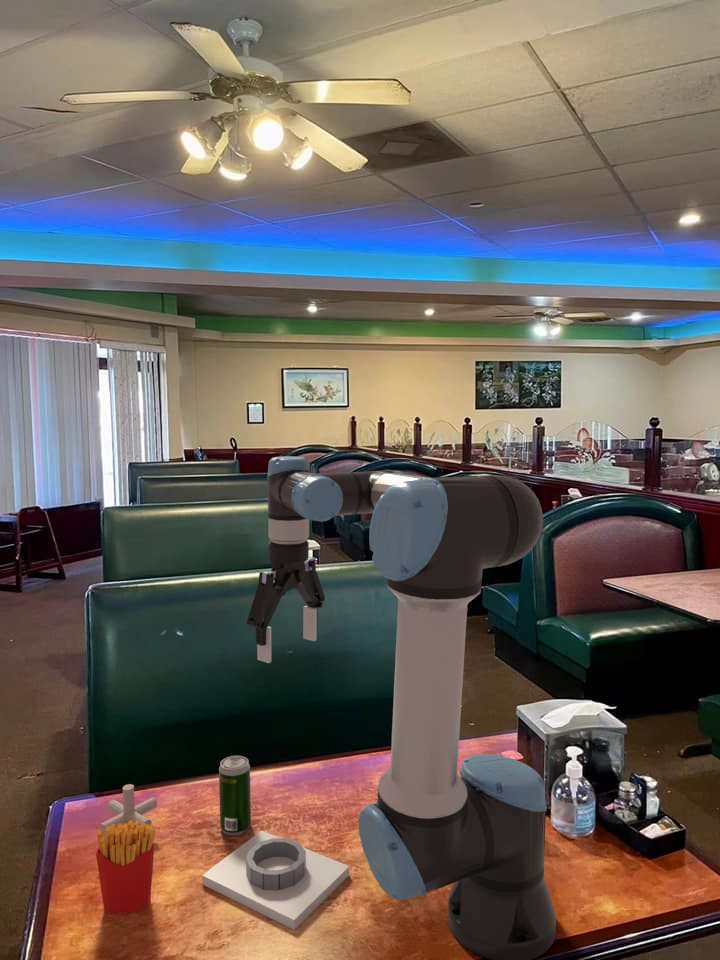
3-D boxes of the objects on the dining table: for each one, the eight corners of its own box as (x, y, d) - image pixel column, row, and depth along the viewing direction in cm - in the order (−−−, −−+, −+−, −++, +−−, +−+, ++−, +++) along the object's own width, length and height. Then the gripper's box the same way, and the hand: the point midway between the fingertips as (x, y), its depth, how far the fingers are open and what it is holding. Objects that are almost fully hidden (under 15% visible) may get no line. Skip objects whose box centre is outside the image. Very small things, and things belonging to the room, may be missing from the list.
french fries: (95, 914, 102) (92, 836, 101) (104, 896, 106) (101, 820, 105) (154, 912, 102) (152, 834, 101) (161, 894, 106) (158, 818, 105)
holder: (349, 875, 111) (349, 851, 110) (294, 930, 99) (294, 903, 98) (261, 838, 120) (261, 816, 120) (202, 884, 108) (201, 860, 108)
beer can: (249, 836, 121) (247, 769, 120) (217, 837, 121) (216, 770, 120) (252, 818, 126) (251, 754, 125) (222, 819, 126) (221, 755, 125)
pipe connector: (121, 869, 112) (119, 810, 111) (86, 847, 118) (84, 790, 117) (172, 839, 120) (171, 783, 119) (137, 819, 126) (135, 766, 125)
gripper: (312, 527, 143) (312, 627, 145) (226, 549, 122) (227, 666, 124) (343, 531, 138) (341, 635, 141) (258, 555, 118) (259, 676, 120)
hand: (288, 649), depth 133 cm, fingers open, 13 cm apart
